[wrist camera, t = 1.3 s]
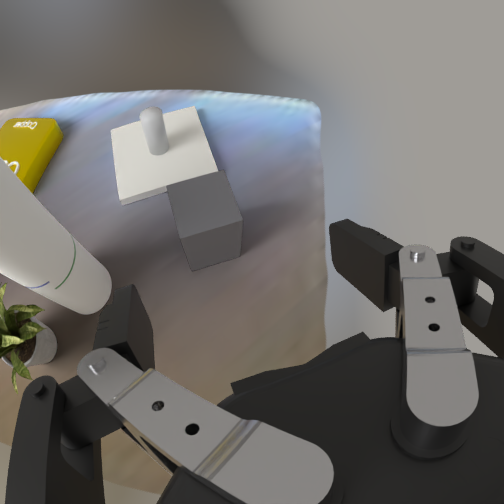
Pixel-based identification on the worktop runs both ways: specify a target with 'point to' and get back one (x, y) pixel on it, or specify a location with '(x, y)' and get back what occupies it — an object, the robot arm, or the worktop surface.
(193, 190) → the tall grey pillar
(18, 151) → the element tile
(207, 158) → the stud plate
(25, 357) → the house plant
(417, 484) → the robot arm
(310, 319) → the worktop surface
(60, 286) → the cylindrical container
